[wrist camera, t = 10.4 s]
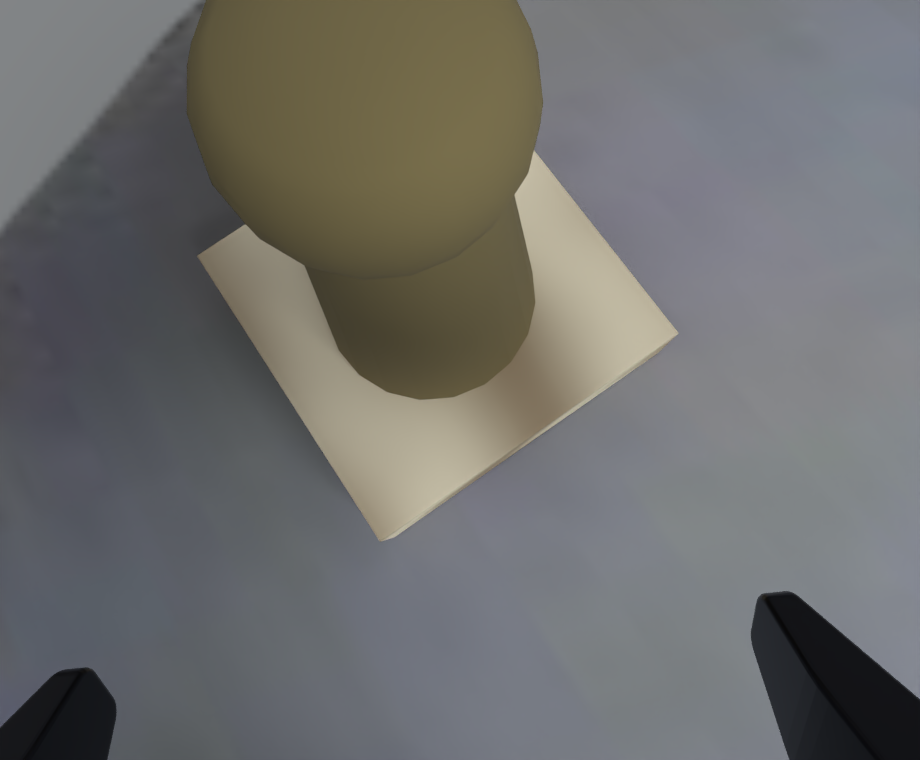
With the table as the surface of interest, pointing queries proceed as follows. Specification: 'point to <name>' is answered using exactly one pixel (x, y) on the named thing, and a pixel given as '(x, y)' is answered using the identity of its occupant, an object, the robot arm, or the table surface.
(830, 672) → the robot arm
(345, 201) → the cork
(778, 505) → the table surface
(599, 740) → the table surface
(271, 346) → the block
